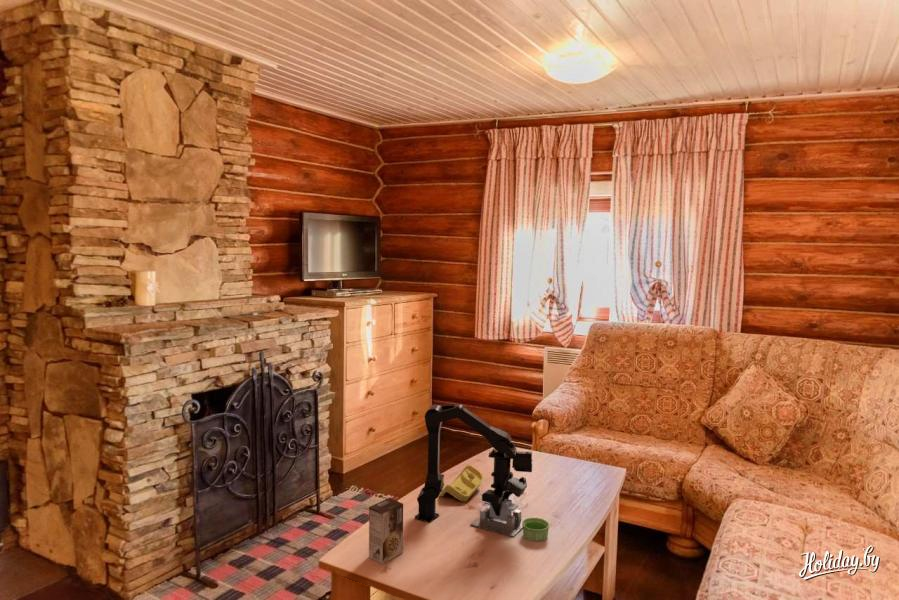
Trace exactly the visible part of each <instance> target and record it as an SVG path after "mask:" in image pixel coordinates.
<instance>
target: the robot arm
mask: <svg viewBox="0 0 899 600" xmlns="http://www.w3.org/2000/svg"><path fill="white" fill-rule="evenodd" d="M453 419H454V420H455V419H458V420H460V421H461V422H462V423H464V424H466V425H467V426H468V427H469V428H471V429H472V430H474V431H475V432H476V433H478V434H479V435H480V436H482V437H483V438H484V439H485V440H486V441H487V442H488V443H489V445H490V446H491V447H492V448H493V449H492V450H491V451H489V452H488V458H490V459H491V458H492V459H493V471H492V472H491V474H490V475H491V477H493V479H492V480H493V482H492V483H491V484H490V488H492V489H488V490H486V491H485V492H484V493H482V494H481V501H482V502H484V501H485V502H489V503H491V505H492V507H493V509H494V512H495V514H496V516H500V511H501V505H502V502H503V501H504V500H506V499H509V500H510V496H512V495H514V496H515V497H518V498H520V497H521V496H522V495H524V494H525V491H526V488H527V487H528V483H527V478H526V477H524V476H521V477H520V478H518V477H514V473H513V471H511V467H512V469H513V470H514V471H515V472H521V473H532V472H533V452H532V451H518V450H517V448H516V446H515V445H514V443H513V442H512V441H513V440H512V436H511V434H510V433H509V432H506V431H505V430H502V429H500V428H497V427H494V426H492V425H490V424H489V423H487V422H486V421H485V420H484V419H482V418H480V417H479V416H477V415H476V414H474V413H473V412H471V411H470V410H468V409H467V408H466V407H465V406H464V405H463V404H461V403H457V404H444V405H443V404H442V405H440V404H432V405H430V406H429V408H428V409H427V410H426V412H425V414H424V422H425V427H426V430H427V433H428V437H427V438H428V439H427V440H428V441H427V472H426V477H425V481H424V486H423V487H422V488H421V489H420V491H419V493H418V496H417V498H416V501H417V504H418V511H417V512H418V513H417V514H416V515H414V518H415V519H417V520H421V521H424V522H427V523H430V522H432V521H434V520H435V519H436V518H438V517H439V516H440V513H438V512H436V511H437V510H436V509H437V508H436V506H437V505H436V503H437V502H436V500H437V499H438V498H439V497H440V493H441V492H442V491H443V489H444V488H445V483H444V479H445V474H443V473H442V474H441V471H440V453H441V452H440V451H441V450H440V443H441V429H442V425H443V422H446V421H450V420H453ZM511 460H512V461H511ZM511 464H512V466H511ZM504 498H505V499H504Z"/></svg>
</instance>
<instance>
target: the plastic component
mask: <svg viewBox="0 0 899 600" xmlns="http://www.w3.org/2000/svg"><path fill="white" fill-rule="evenodd" d="M483 480H484V475H483V474H482V472H481V471H480V470H478V469H477V468H476V467H475V466H473V465H472V464H468V465H466V466H465V467H464V468H463V470H462V471H461V472H460V473H459V474H458V476H457V477H456V478H455V479H454V480H453V481H451V483H450V484H447V485H446V486H444V487H443V490H442V492H440V495H439V497H443V496H445V495H446V494H447V493H448V494H449V495H450V496H453V497H454V498H455V499H457V500H458V501H460V502H463V503H464V502H467V501H468V500H469V498H471V497H472V496H473V494H474V493H475V492H476V491H477V490H478V488H479V486H480V485H481V484H482V482H483Z"/></svg>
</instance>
